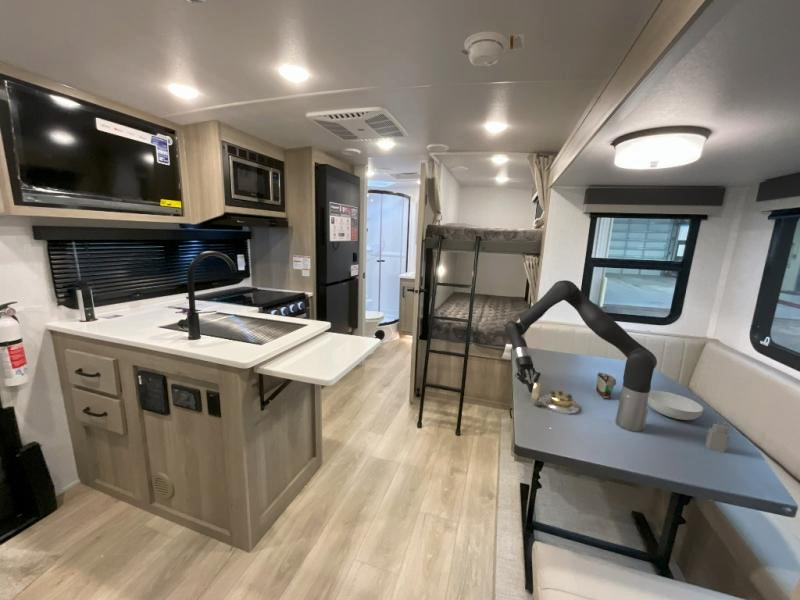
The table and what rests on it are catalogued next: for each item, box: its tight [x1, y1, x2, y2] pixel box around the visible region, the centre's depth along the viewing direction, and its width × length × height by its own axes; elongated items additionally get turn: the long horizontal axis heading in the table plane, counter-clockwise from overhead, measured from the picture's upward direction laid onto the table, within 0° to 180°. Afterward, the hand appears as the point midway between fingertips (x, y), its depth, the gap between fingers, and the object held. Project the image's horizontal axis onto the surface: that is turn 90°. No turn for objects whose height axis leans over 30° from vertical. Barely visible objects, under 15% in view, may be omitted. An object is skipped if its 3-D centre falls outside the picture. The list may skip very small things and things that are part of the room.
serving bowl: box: [647, 390, 704, 421], centre depth 151 cm, size 21×21×7 cm
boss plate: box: [541, 393, 580, 415], centre depth 153 cm, size 16×16×2 cm
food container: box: [595, 372, 617, 400], centre depth 166 cm, size 12×6×10 cm, turn 168°
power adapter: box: [704, 419, 731, 453], centre depth 125 cm, size 3×5×12 cm, turn 60°
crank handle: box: [530, 382, 574, 407], centre depth 151 cm, size 20×10×9 cm, turn 97°
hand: (532, 392), depth 152 cm, fingers closed
